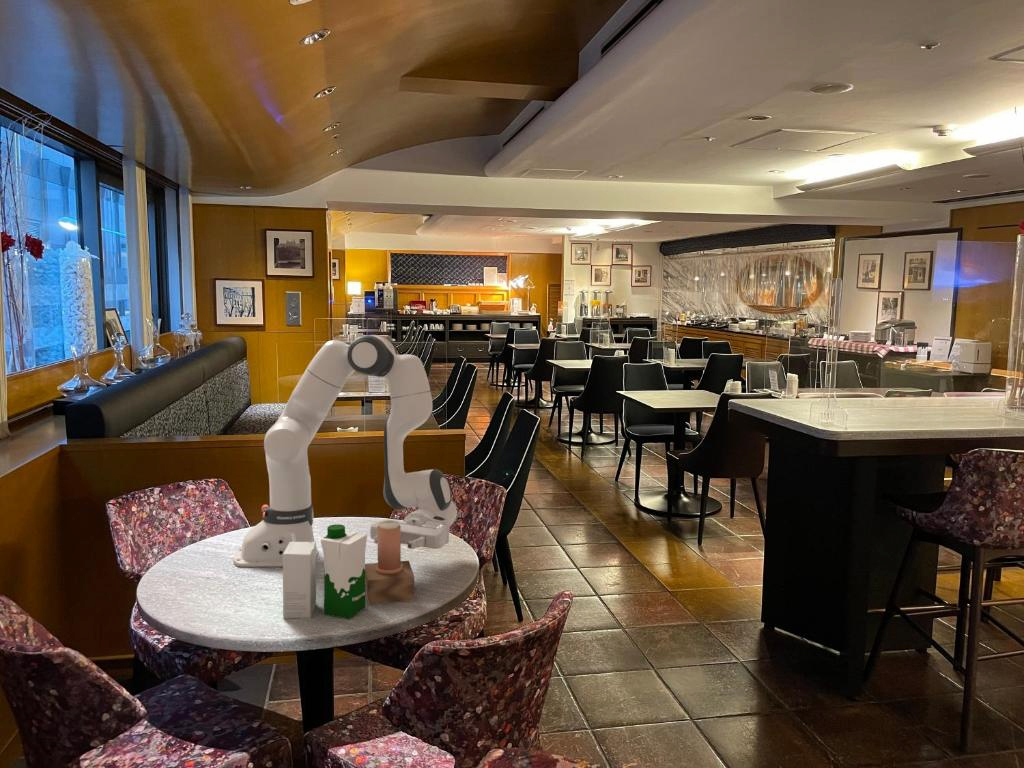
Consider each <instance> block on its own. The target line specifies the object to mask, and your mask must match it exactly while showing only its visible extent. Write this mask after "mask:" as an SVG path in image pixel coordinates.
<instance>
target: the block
mask: <svg viewBox="0 0 1024 768" xmlns="http://www.w3.org/2000/svg"><path fill="white" fill-rule="evenodd" d="M377 564H378V562H373V563H370V562H369V563H365V588H366V589H365V595H366V599H367V604H368V605H376V604H377V603H379V604H389V603H388V602H390V603H400V602H410V601H415V574H414V572H413V569H412V566H411V563H410V561H409V560H401V564H402V565H403V570H402V572H400V573H398V574H394V575H382V574H378V573H377V572H376V565H377Z"/></svg>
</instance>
